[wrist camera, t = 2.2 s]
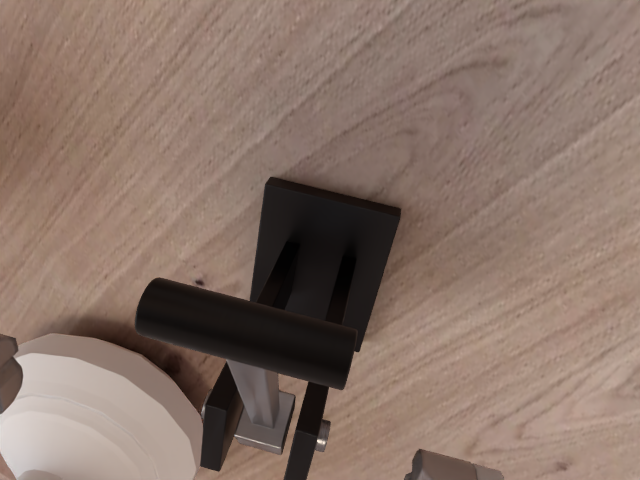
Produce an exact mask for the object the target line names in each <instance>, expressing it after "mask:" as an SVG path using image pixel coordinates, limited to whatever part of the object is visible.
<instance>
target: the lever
mask: <svg viewBox="0 0 640 480" xmlns="http://www.w3.org/2000/svg"><path fill="white" fill-rule="evenodd" d="M135 329H136V332H137V333H138V334H139V335H140V336H144V337H147V338H151V339H155V340H158V341H162V342H166V343H169V344H173V345H177V346H180V347H184V348H188V349H191V350H195V351H199V352H202V353H206V354H210V355H213V356H217V357H221V358H224V359H226V360H227V363H228V365H229V368H230V370H231V373H232V375H233V378H234V380H235V383H236V385H237V388H238V391H239V393H240V396H241V398H242V401H243V403H244V405H243V408H242V411H241V414H240V418H239V421H238V424H237V427H236V430H235V433H234V436H235V438H236V439H237V440H238V442H239V443H240V444H243V445H247V446H250V447H254V448H257V449H261V450H264V451H268V452H271V453H275V454H278V455H282V453H283V449H284V445H285V441H286V438H287V434H288V430H289V426H290V423H291V419H292V415H293V411H294V408H295V398H296V397H295V395H293V394H290V393H286V392H282V391H279V384H278V373H280V374H283V375H287V376H291V377H294V378H298V379H302V380H305V381H309V382H313V383H316V384H320V385H324V386H327V387H331V388H335V389H338V390H343V389H344V387H345V385H346V381H347V378H348V374H349V371H350V367H351V363H352V359H353V354H354V350H355V345H356V339H357V330H356V329H354V328H350V327H346V326H343V325H339V324H335V323H331V322H327V321H324V320H320V319H316V318H312V317H308V316H305V315H301V314H297V313H293V312H289V311H286V310H282V309H278V308H274V307H270V306H267V305H263V304H259V303H255V302H251V301H248V300H244V299H240V298H236V297H232V296H229V295H225V294H221V293H217V292H213V291H209V290H206V289H202V288H198V287H194V286H190V285H187V284H183V283H179V282H175V281H171V280H168V279H164V278H155V279H153V280H152V281H151V282H150V283H149V284H148V286H147V287H146V289H145V291H144V292H143V294H142V296H141V299H140V301H139V304H138V307H137V311H136V317H135Z"/></svg>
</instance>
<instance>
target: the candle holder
mask: <svg viewBox="0 0 640 480" xmlns="http://www.w3.org/2000/svg"><path fill="white" fill-rule="evenodd" d="M18 350H19V351H18V352H17V353H16V354H15V355H14V356H13V357H14V358H15V359H16V361H17V362H18V363H19V364H20V365H21V367H22V371H23V381H22V387H21V389H20V391H19V392H18V394H17V396H16V398H15V400H14V401H13V403H12V404H11V405H10V406H9V407H8V408H7V409H6V410H5V411H4V412H3V413H2V414H0V453H1V454H2V456H3V458H4V460H5V461H6V463H7V465H8V467H9V468H10V469H11V471H12V472H13V474H14V476H15V477H16V479H17V480H194V479H195V477H196V474H197V472H198V470H199V467H200V460H201V448H202V436H203V425H202V420H201V416H200V414H199V413H198V412H197V410H196V409H195V408H194V407H193V405H192V404H191V403H190V401H189V400H188V399H187V397H186V396H185V395H184V393H183V392H182V391H181V390H180V388H179V387H178V386H177V384H176V383H175V382H174V381H173V380H172V379H171V377H170V376H169V375H168V374H166V373H165V372H164V371H163V370H161V369H160V368H159V367H157V366H156V365H155V364H154V363H152V362H151V361H150V360H148V359H147V358H146V357H144V356H143V355H141V354H139V353H136V352H134V351H131V350H129V349H126V348H123V347H121V346H118V345H116V344H113V343H110V342H107V341H103V340H100V339H96V338H90V337H82V336H73V335H64V334H55V333H51V334H48V335H45V336H42V337H39V338H36V339H33V340H30V341H28V342H25V343H22V344H20V345H19V346H18Z"/></svg>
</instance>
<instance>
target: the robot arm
mask: <svg viewBox="0 0 640 480" xmlns="http://www.w3.org/2000/svg"><path fill="white" fill-rule="evenodd" d="M18 351H19V350H18V346H17V342H16V338H13V337H9V336H6V335H3V334H0V414H2V413H3V412H4V411H5V410H6V409H7V408H8V407H9V406H10V405H11V404H12V403H13V401H14V400H15V398H16V396H17V394H18V392H19V391H20V389H21V387H22V381H23V371H22V367H21V365H20V364H19V363H18V362H17V361H16V359H15V358H14V357H13V356H14V355H15V354H16V353H17V352H18ZM404 480H504V477H503V475H502V473H501V472H500V471H498V470H495V469H491V468H488V467H484V466H480V465H477V464H471V462H468V461H464V460H460V459H457V458H453V457H449V456H445V455H441V454H437V453H434V452H430V451H426V450H422V449H419V450H418V451H417V452H416V454H415V456H414V458H413V460H412V472H411V473H409V474H406V476H405V478H404Z"/></svg>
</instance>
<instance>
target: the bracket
mask: <svg viewBox="0 0 640 480" xmlns="http://www.w3.org/2000/svg"><path fill="white" fill-rule="evenodd" d="M400 215H401V209H400V208H396V207H392V206H388V205H384V204H379V203H375V202H371V201H367V200H363V199H359V198H355V197H351V196H347V195H343V194H339V193H334V192H330V191H326V190H322V189H318V188H314V187H310V186H306V185H302V184H298V183H293V182H289V181H285V180H281V179H277V178H273V177H270V178H269V180H268V181H267V182H266V184H265V189H264V197H263V204H262V212H261V220H260V227H259V235H258V242H257V250H256V257H255V265H254V273H253V280H252V288H251V295H250V301H251V302H255V303H259V304H263V305H267V306H270V307H274V308H278V309H282V310H286V311H289V312H293V313H297V314H301V315H305V316H308V317H312V318H316V319H320V320H324V321H327V322H331V323H335V324H339V325H343V326H346V327H350V328H354V329H356V330H357V339H356V345H355V350H354V351H355V352H359V351H360V348H361V345H362V342H363V338H364V335H365V332H366V328H367V325H368V322H369V319H370V315H371V312H372V309H373V305H374V302H375V299H376V296H377V292H378V289H379V286H380V282H381V279H382V276H383V273H384V269H385V266H386V263H387V259H388V256H389V253H390V250H391V246H392V243H393V240H394V237H395V233H396V230H397V227H398V223H399V220H400ZM328 390H329V387H327V386H324V385H320V384H316V383H313V382H308V385H307V389H306V393H305V397H304V400H303V404H302V408H301V411H300V415H299V419H298V422H297V426H296V430H295V434H294V438H293V443H292V447H291V451H290V455H289V459H288V464H287V468H286V472H285V476H284V480H306V479H307V476H308V472H309V468H310V465H311V461H312V458H313V454H314V451H315V450H316V451H320V452H324V451H325V447H326V444H327V440H328V435H329V431H330V425H331V422H330V421H327V420H324V419H322V418H323V413H324V409H325V404H326V399H327V395H328ZM243 405H244V403H243V401H242V398H241V396H240V393H239V391H238V388H237V385H236V383H235V380H234V378H233V375H232V373H231V370H230V368H229V365H228V363H227V361H226V363H225V365H224V367H223V369H222V371H221V373H220V375H219V377H218V379H217V381H216V383H215V385H214V387H213V389H210V391H209V392H208V394H207V396H206V398H205V401H204V404H203V408H202V413H201V417H202V418H203V419H204V423H203V436H202V448H201V460H200V466H201V467H204V468H208V469H211V470H215V471H218V472H219V471H220V470H221V467H222V465H223V462H224V460H225V457H226V455H227V452H228V450H229V447H230V445H231V442H232V440H233V437H234V433H235V430H236V427H237V424H238V421H239V418H240V414H241V411H242V408H243Z"/></svg>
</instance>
